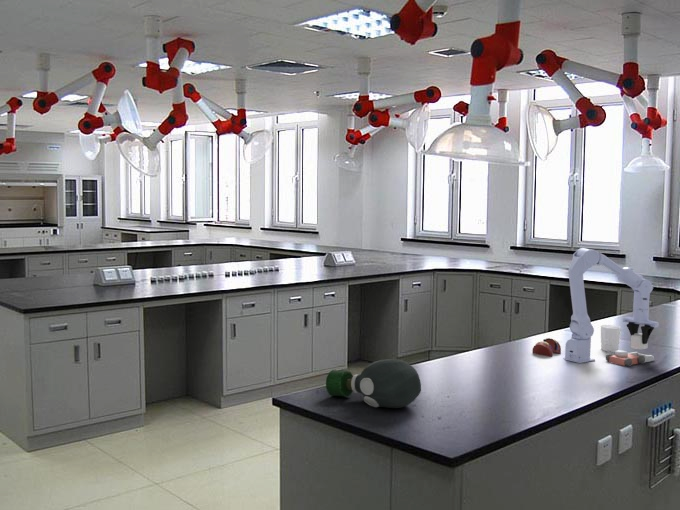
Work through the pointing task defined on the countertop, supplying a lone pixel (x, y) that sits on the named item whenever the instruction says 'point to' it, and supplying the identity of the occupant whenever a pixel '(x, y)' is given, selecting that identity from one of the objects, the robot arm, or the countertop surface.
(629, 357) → the toy car
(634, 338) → the white drawer box
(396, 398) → the gas mask
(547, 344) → the red rounded pieces
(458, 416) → the countertop surface
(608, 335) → the white cup
